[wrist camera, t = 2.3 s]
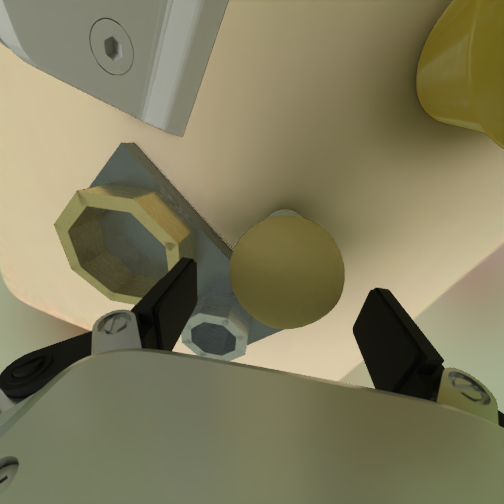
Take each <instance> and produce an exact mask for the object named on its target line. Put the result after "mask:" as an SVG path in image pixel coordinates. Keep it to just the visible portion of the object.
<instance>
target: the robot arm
mask: <svg viewBox="0 0 504 504" xmlns="http://www.w3.org/2000/svg"><path fill="white" fill-rule="evenodd" d="M197 301H198V297H197V263H196V262H194V260H193V259H191V258H185V257H182V258H181V259H180V260H179V261H178V262H177V263H176V264H175V265H174V267H173V268H172V269H171V270H170V271H169V272H168V273H167V274H166V275H165V276H164V277H163V278H161V279H160V280H159V281H158V282H157V283H156V284H155V285H154V286H153V287H152V288H151V289H150V290H149V291H148V293H147V294H146V295H145V296H144V297H143V298H142V299H141V300H140V301H139V302H138V303H137V304H136V305H135V306H134V308H133V309H132V310H131V311H129V310H116V311H112V312H110V313H107V314H105V315H103V316H102V317H100V318H99V319H98V320H97V321H96V322H95V324H94V325H93V329H92V331H90V332H88V333H85V334H82V335H79V336H76V337H73V338H70V339H68V340H65V341H62V342H59V343H56V344H53V345H50V346H48V347H45V348H42V349H39V350H36V351H33V352H31V353H28V354H26V355H24V356H22V357H21V358H19V359H17V360H15V361H14V362H13V363H11V364H10V365H9V366H7V367H6V369H5V370H4V371H3V372H2V373H1V375H0V504H504V414H503V413H501V412H500V411H498V407H497V402H496V399H495V398H494V396H493V394H492V393H491V392H490V391H489V390H488V389H487V388H486V387H485V386H484V385H483V384H482V383H481V382H480V381H478V380H477V379H475V378H474V377H472V376H471V375H470V374H468V373H466V372H464V371H462V370H458V369H456V368H446V369H445V368H444V367H443V366H442V363H443V362H444V360H443V358H442V357H441V356H440V354H439V353H438V352H437V351H436V349H435V348H434V347H433V346H432V344H431V343H430V342H429V340H428V339H427V338H426V337H425V335H424V334H423V333H422V331H421V330H420V329H419V327H418V326H417V325H416V324H415V322H414V321H413V320H412V319H411V317H410V316H409V315H408V313H407V312H406V311H405V310H404V308H403V307H402V306H401V304H400V303H399V302H398V301H397V299H396V298H395V297H394V295H393V294H392V293H391V292H390V291H389V290H388V289H382V288H375V289H374V290H371V291H370V292H369V294H368V296H367V298H366V300H365V303H364V305H363V307H362V309H361V311H360V313H359V315H358V318H357V320H356V322H355V324H354V326H353V334H354V336H355V339H356V341H357V344H358V346H359V349H360V351H361V354H362V356H363V359H364V361H365V364H366V366H367V369H368V371H369V374H370V376H371V379H372V381H373V384H374V386H375V389H373V388H368V387H363V386H357V385H352V384H347V383H342V382H337V381H332V380H327V379H321V378H316V377H311V376H306V375H300V374H295V373H290V372H284V371H279V370H274V369H268V368H263V367H258V366H252V365H247V364H241V363H236V362H230V361H225V360H219V359H214V358H208V357H203V356H197V355H190V354H184V353H178V352H172V350H173V348H174V346H175V344H176V342H177V340H178V339H179V337H180V335H181V333H182V331H183V329H184V328H185V326H186V324H187V322H188V320H189V318H190V316H191V315H192V313H193V311H194V309H195V307H196V305H197Z"/></svg>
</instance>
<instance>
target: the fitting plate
mask: <svg viewBox="0 0 504 504" xmlns="http://www.w3.org/2000/svg"><path fill="white" fill-rule="evenodd" d="M54 226H55V229H56V231H57V234H58V236H59V239H60V241H61V244H62V246H63V249H64V251H65V254H66V256H67V259H68V261H69V264H70V267H71V269H72V270H73V271H75V272H76V273H77V274H78V275H80V276H81V277H82V278H83V279H85V280H86V281H87V282H89V283H90V284H91V285H92V286H94V287H95V288H96V289H97V290H99V291H100V292H101V293H102V294H104V295H105V296H106V297H107V298H109V299H110V300H113V301H118V302H123V303H129V304H134V305H136V304H137V303H138V302H139V301H140V300H141V299H142V298H143V297H144V296H145V295H146V294H147V293H148V291H149V290H150V289H151V288H152V287H153V286H154V285H155V284H156V283H157V282H158V281H159V280H160V279H161V278H163V277H164V276H165V275H166V274H167V273H168V272H169V271H170V270H171V269H172V268H173V267H174V265H175V264H176V263H177V262H178V261H179V260H180V259H181V258H182V257H185V258H191V259H193V260H194V262H196V263H197V297H198V301H197V305H196V307H195V309H194V311H193V313H192V315H191V316H190V318H189V320H188V322H187V324H186V326H185V328H184V329H183V331H182V333H181V335H182V343H183V344H185V345H186V346H187V347H188V348H190V349H191V350H192V351H193V352H194V353H196V354H197V355H198V356H203V357H208V358H214V359H219V360H225V361H231V360H233V359H236V358H238V357H241V356H243V355H245V352H246V347H247V345H249V344H251V343H253V342H256V341H258V340H260V339H263V338H265V337H267V336H270V335H272V334H274V333H277V332H279V331H281V330H284V329H276V328H273V327H270V326H267V325H265V324H263V323H261V322H260V321H258V320H257V319H255V318H254V317H252V316H251V315H250V314H249V313H248V312H247V311H246V310H245V309H244V308H243V307H242V305H241V304H240V303H239V301H238V299H237V298H236V296H235V294H234V292H233V290H232V287H231V283H230V275H229V267H230V261H231V257H232V254H233V252H232V251H231V250H230V249H229V248H228V247H227V246H226V244H225V243H224V242H223V241H222V240H221V239H220V238H219V237H218V236H217V234H216V233H215V232H214V231H213V230H212V229H211V228H210V227H209V226H208V224H207V223H206V222H205V221H204V220H203V219H202V218H201V217H200V216H199V214H198V213H197V212H196V211H195V210H194V209H193V208H192V207H191V206H190V204H189V203H188V202H187V201H186V200H185V199H184V198H183V197H182V196H181V194H180V193H179V192H178V191H177V190H176V189H175V188H174V187H173V186H172V184H171V183H170V182H169V181H168V180H167V179H166V178H165V177H164V175H163V174H162V173H161V172H160V171H159V170H158V169H157V168H156V167H155V165H154V164H153V163H152V162H151V161H150V160H149V159H148V158H147V157H146V155H145V154H144V153H143V152H142V151H141V150H140V149H139V148H138V147H137V145H136V144H135V143H121V144H120V145H119V147H118V148H117V149H116V151H115V152H114V154H113V155H112V156H111V158H110V159H109V161H108V162H107V163H106V165H105V166H104V167H103V169H102V170H101V172H100V173H99V174H98V176H97V177H96V179H95V180H94V181H93V183H92V184H91V186H90V187H89V188H87V189H83V190H78V191H77V192H76V193H75V195H74V196H73V197H72V199H71V200H70V202H69V203H68V205H67V206H66V208H65V209H64V211H63V212H62V213H61V215H60V216H59V218H58V219H57V221H56V222H55V224H54Z"/></svg>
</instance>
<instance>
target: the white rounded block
mask: <svg viewBox="0 0 504 504" xmlns="http://www.w3.org/2000/svg"><path fill="white" fill-rule="evenodd" d="M227 3H228V0H0V42H1V43H2V44H3V45H4V46H6V47H7V48H9V49H10V50H12V52H13V53H14V54H16V55H17V56H18V57H19V58H21V59H22V60H23V61H24V62H26V63H28V64H30V65H32V66H33V67H35V68H37V69H39V70H41V71H43V72H45V73H47V74H49V75H51V76H53V77H55V78H57V79H59V80H61V81H63V82H65V83H67V84H69V85H71V86H73V87H75V88H77V89H79V90H81V91H83V92H85V93H87V94H89V95H91V96H93V97H95V98H97V99H99V100H101V101H103V102H105V103H107V104H109V105H111V106H113V107H115V108H117V109H119V110H121V111H124V112H126V113H128V114H130V115H132V116H134V117H136V118H138V119H140V120H142V121H144V122H146V123H148V124H150V125H152V126H155V127H157V128H159V129H161V130H163V131H165V132H168V133H171V134H174V135H178V136H181V137H183V134H184V131H185V128H186V125H187V122H188V119H189V116H190V113H191V110H192V107H193V104H194V101H195V98H196V95H197V92H198V89H199V86H200V83H201V80H202V77H203V74H204V71H205V68H206V65H207V62H208V59H209V56H210V54H211V51H212V48H213V45H214V42H215V39H216V36H217V33H218V30H219V27H220V24H221V21H222V18H223V15H224V12H225V9H226V6H227Z"/></svg>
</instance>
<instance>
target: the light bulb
mask: <svg viewBox="0 0 504 504" xmlns="http://www.w3.org/2000/svg"><path fill="white" fill-rule="evenodd" d="M229 275H230V283H231V287H232V290H233V292H234V294H235V296H236V298H237V299H238V301H239V303H240V304H241V305H242V307H243V308H244V309H245V310H246V311H247V312H248V313H249V314H250V315H251V316H252V317H254V318H255V319H257V320H258V321H260V322H261V323H263V324H265V325H267V326H270V327H273V328H276V329H293V328H298V327H303V326H306V325H308V324H311V323H313V322H315V321H317V320H319V319H321V318H322V317H323V316H325V315H326V314H328V313H329V312H330V311H331V310H332V309H333V308H334V307H335V305H336V304H337V303H338V301H339V299H340V297H341V294H342V291H343V286H344V263H343V260H342V257H341V253H340V250H339V248H338V247H337V245H336V243H335V241H334V240H333V239H332V237H331V236H330V235H329V234H328V233H327V232H326V231H325V230H324V229H323V228H322V227H320V226H319V225H317V224H316V223H314V222H312V221H310V220H308V219H305V218H303V217H302V216H301V215H300V214H298V213H297V212H295V211H292V210H288V209H283V210H278V211H275V212H273V213H272V214H270V215H269V216H268V217H267V219H265V220H262V221H261V222H259V223H257V224H256V225H254V226H252V227H251V228H250V229H249V230H247V231H246V233H245V234H244V235H243V236H242V237H241V238H240V240H239V241H238V243H237V245H236V247H235V248H234V251H233V254H232V257H231V261H230V267H229Z"/></svg>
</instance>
